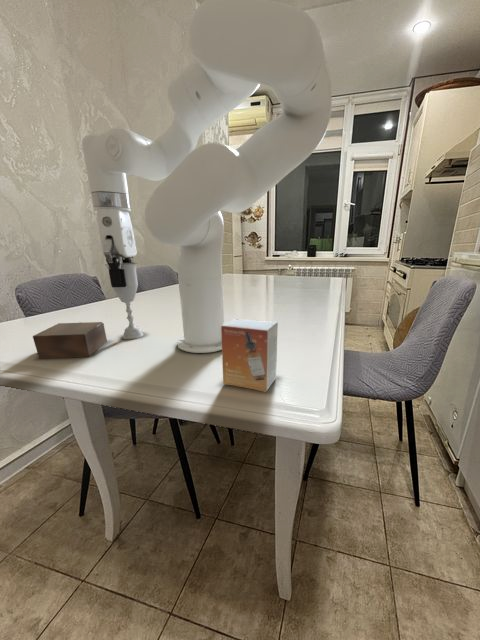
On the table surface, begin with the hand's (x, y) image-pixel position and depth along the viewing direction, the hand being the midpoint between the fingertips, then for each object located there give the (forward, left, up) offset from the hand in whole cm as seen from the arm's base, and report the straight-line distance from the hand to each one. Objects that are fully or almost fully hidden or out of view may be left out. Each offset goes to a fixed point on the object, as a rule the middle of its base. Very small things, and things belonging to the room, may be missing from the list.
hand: (124, 284), depth 71 cm
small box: (-28, +30, -13) cm, 43 cm away
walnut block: (+10, +9, -13) cm, 19 cm away
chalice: (0, 0, -13) cm, 13 cm away
